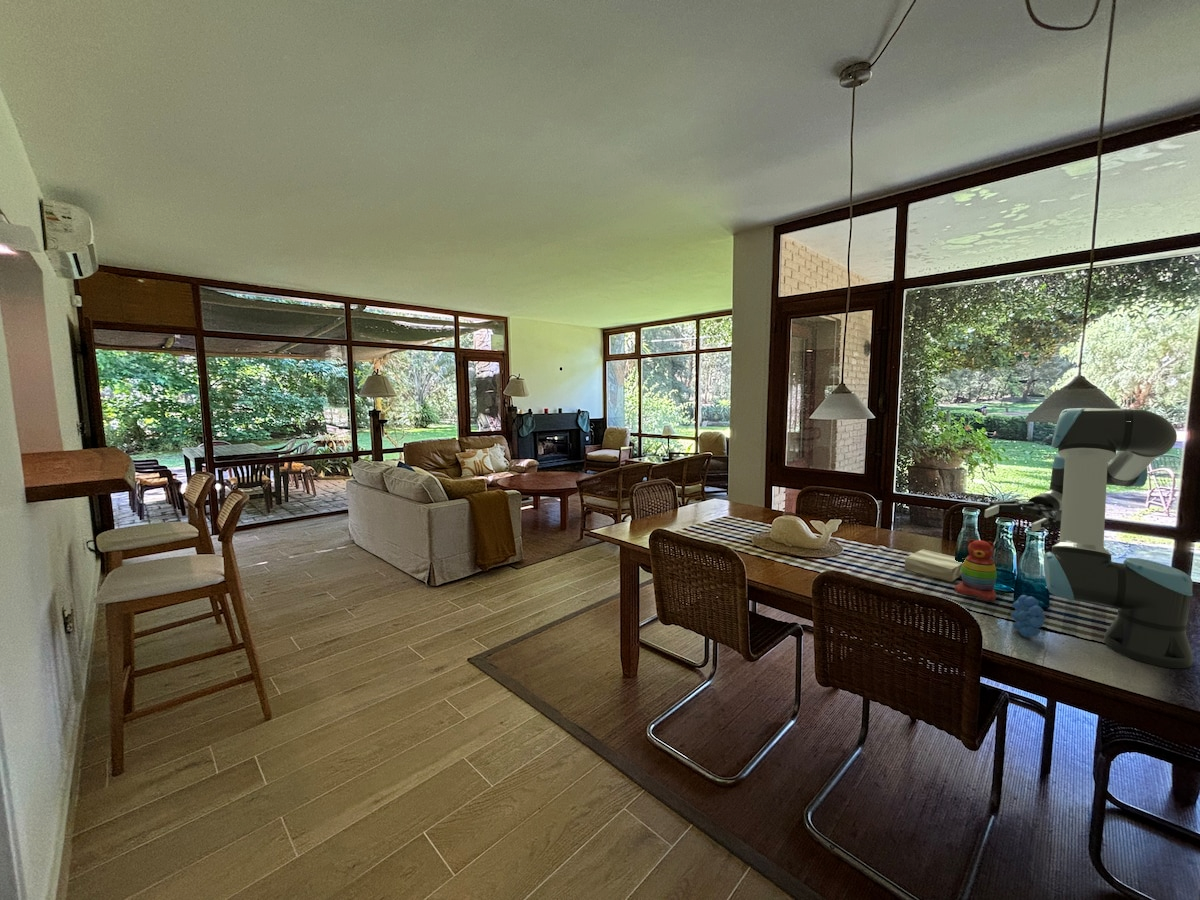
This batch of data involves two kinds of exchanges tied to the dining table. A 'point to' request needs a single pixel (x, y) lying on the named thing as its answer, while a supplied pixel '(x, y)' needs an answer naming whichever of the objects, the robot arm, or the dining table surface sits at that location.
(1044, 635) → the dining table surface
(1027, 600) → the grapes
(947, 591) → the dining table surface
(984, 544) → the stacking bear
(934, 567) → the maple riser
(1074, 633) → the dining table surface
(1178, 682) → the dining table surface
